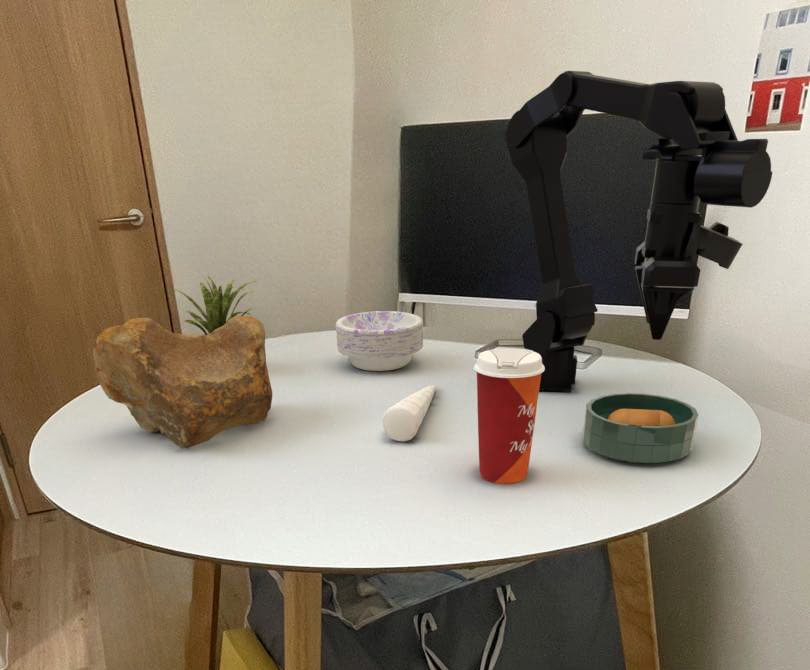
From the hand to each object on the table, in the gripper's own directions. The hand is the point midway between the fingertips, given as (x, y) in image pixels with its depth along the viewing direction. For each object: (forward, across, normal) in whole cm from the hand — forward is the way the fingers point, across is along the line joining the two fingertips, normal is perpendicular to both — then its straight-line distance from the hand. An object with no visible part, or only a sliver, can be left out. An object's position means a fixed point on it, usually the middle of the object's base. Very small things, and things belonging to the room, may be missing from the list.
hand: (653, 331), depth 94 cm
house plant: (+13, +11, +68) cm, 70 cm away
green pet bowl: (+12, -13, +1) cm, 17 cm away
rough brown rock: (+12, -17, +59) cm, 63 cm away
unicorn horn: (+12, -6, +32) cm, 34 cm away
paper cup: (+12, -24, +17) cm, 32 cm away
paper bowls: (+13, +20, +43) cm, 49 cm away
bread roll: (+11, -13, +1) cm, 17 cm away
